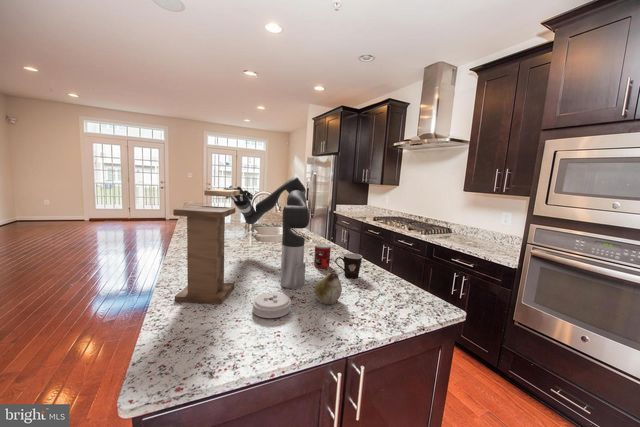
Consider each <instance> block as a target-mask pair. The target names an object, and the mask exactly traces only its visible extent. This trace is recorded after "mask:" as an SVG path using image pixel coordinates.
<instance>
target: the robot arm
mask: <svg viewBox="0 0 640 427" xmlns="http://www.w3.org/2000/svg"><path fill="white" fill-rule="evenodd" d="M232 187H233V185H230V186H229V187H228V188H232ZM237 190H240V195H236V196H232V197H225V200H226V199H227V200H228V199H231V200H232V201H233V203H234V205H235V207H236V208H237V209H238V211H239V212H240V213H241V214H242V216H243V218H244V220H245V223H246V224H248V225H254V224H255V223H257V222H258V221H259V220H260V219H261V217H263V215H265V214H266V213H267V212H269V211H271V210H272V209H273V208H275V206H276V205H277V203H278V200H279V199H280V196H281V195H282V194H283V193H284V191H286V192H287V194H288V195H287V197H286V205H285V206H283V209H282V239H281V257H280V258H281V261H280V262H281V264H280V265H281V266H280V286H281V287H283V288H287V289H294V290H297V289H299V288H301V287H303V286H304V285H305V284H306V283H305V280H306V262H304V261H305V260H304V259H305V242H306V241H305V238H304V237H303V236H302V235H299V234H297V233H295V232H293V231H292V230H291V229H299V230H300V229H302V230H303V229H306V228H307V227H308V226H309V223H310V219H311V218H310V212H309V209H308V205H307V199H306V191H307V190H306V188H305V186H304V184H303V183H302V181H301V180H300V178H299V177H297V176H293V177H291V178H290V179H288V180H287V181H285V182H284V183H283V184H282V185H280V186H279V187H278V188H276V189H275V190H274V191H273V192H272V193H271V194H269V195H268V196H266V197H265V198H263V199H262V200H260V201H259V202H257V203H256V204H255V206H253V205H252V201H253V197H254V195H253V194H252V193H251V192H249V191H248V190H245V189H242V187H240V186H239V185H237Z"/></svg>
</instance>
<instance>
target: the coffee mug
mask: <svg viewBox="0 0 640 427" xmlns="http://www.w3.org/2000/svg"><path fill="white" fill-rule="evenodd" d="M339 259H340V260H342V262H343V266H341V265H340V264H338V262H337V260H339ZM362 260H363V255H361V254H358V253H355V252H354V253H352V252H350V253H345V254H343V257H341V256H338V257H336V258H335V262H334V263H335V264H336V265H337V267H338V268H340V269H341V270H343V271H344V277H345V278H346V279H349V280H350V279H351V280H355V279H358V278H359V274H360V269H361V266H362Z"/></svg>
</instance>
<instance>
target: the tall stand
mask: <svg viewBox="0 0 640 427" xmlns="http://www.w3.org/2000/svg"><path fill="white" fill-rule="evenodd" d="M172 214H173V216H174V217H179V216H180V217H186V242H187V243H186V247H187V248H186V249H187V250H186V252H187V253H186V255H187V256H186V257H187V258H186V259H187V260H186V261H187V264H186V265H187V274H186V275H187V278H186V279H187V286H185V287H184V288H183V289H182V290H181V291H179V293H177V294H176V295H174V302H175V303H188V304H204V305H205V304H206V305H207V304H209V305H222V304H223V303H224V302H225V300H226V299H227V297H229V295H230V294H231V293H232V291H233V290H234V289H235V283H234V282H225V229H226V228H225V221H226V220H225V218H226V217H228V216H231V215H234V214H236V207H228V206H213V205H212V206H209V205H188V206H184V207H180V208H175V209H173V210H172ZM223 301H224V302H223Z"/></svg>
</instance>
